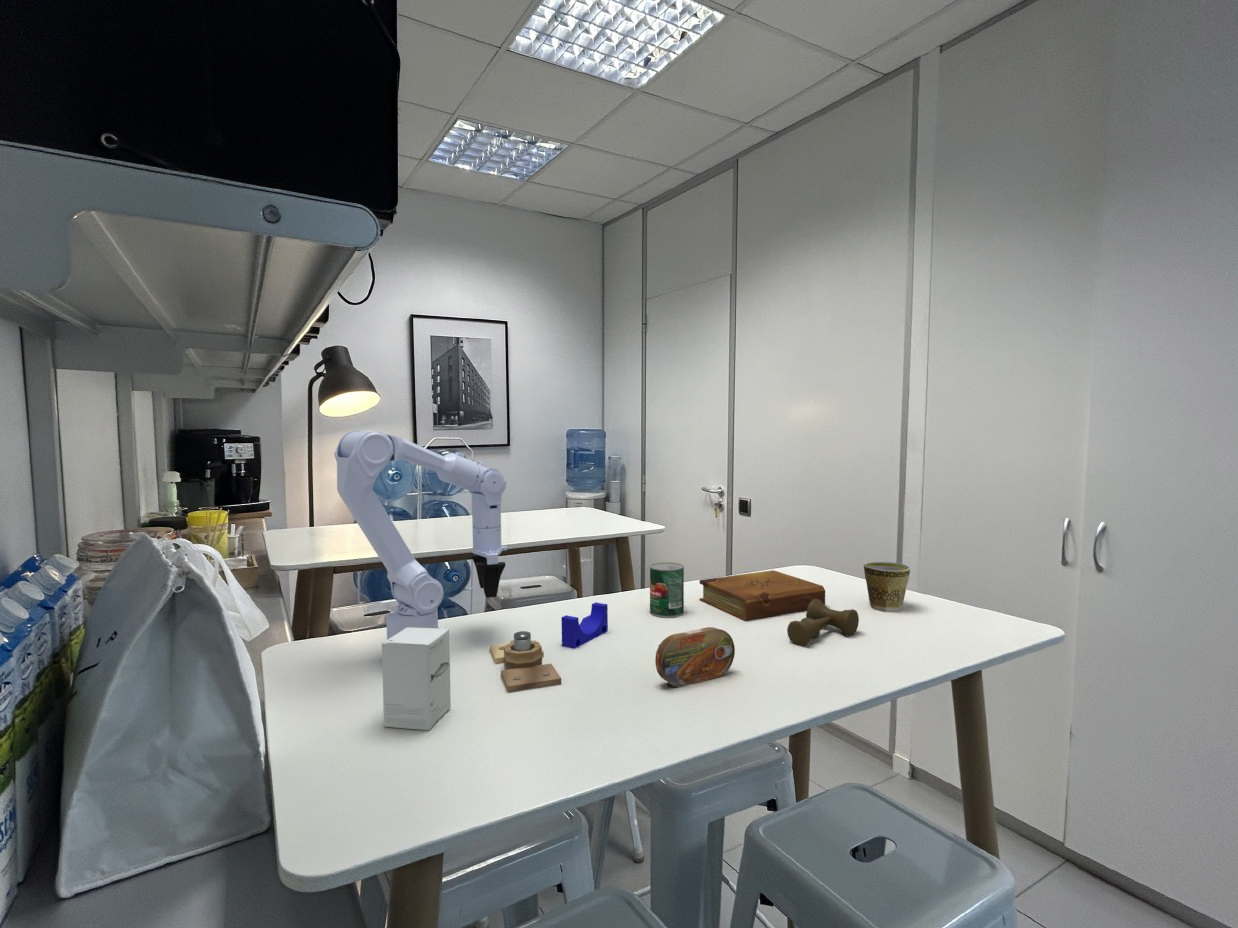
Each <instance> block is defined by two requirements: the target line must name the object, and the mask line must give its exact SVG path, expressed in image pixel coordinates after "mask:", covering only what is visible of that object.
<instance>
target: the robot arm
mask: <svg viewBox="0 0 1238 928" xmlns="http://www.w3.org/2000/svg"><path fill="white" fill-rule="evenodd" d="M333 455H334V458H335V461H336V489H337V490H336V491H337V493H338V494H339V496H340V498H341V500H342V501H343V503H344V504H345V507H346V508H347V509H348V510H349V512H350V514H351V515H352V517H353V518H354V521H355V523H357V525H358V527H359V528H360V529H361V532H362V533H363V534H364V536H365V537H366V539H367V541H368V542H369V544H370V545H371V548H373V550H374V551H375V553H376V555H377V556H378V558H379V559H380V561H381V563H382V564H383V566H384V567H385V569H386V570H387V575H386V578H387V579H388V581H389V583H390V588H391V590H390V591H391V595H392V597H393V598H394V600H395V601H397V608H396V609H397V610H396V611H394V612H393V611H392V612H387V613H386V640H388V639H389V638H391V637H393V636H394V635H396V634H397V633H399V632H400V631H402V630H403V629H405V628H407V627H410V628H437V629H439V616H438V615H439V614H438V613H439V612H438V611H439V610H438V607H439V606H440V604H441V603H442V602H443V599H444V587H443V585H442V584H441V582H440V581H438V580H437V579H436V578H433V577H432V576H431V575H430V574H429V572H428V570H427V569H426V568H424V567H423V565H421V564H420V563H419V561H417V559H415V556H414V555H413V554H412V552H411V550H410V548H409V546H408V545H407V544H406V541H405V540H404V539H403V537H402V535H401V534H400V532H399V530H398V528H397V527H396V525H395V524H394V522H393V520H392V519H391V517H390V516H389V514H388V512H387V511H386V509H385V508H384V506H383V504H382V502H381V501H380V499H379V497H378V496H377V494H376V493H375V490H374V486H375V483H376V480H377V478H378V476H379V474H380V473H381V472H382V471H383V470H384V468H385V467H386V466H387V464H388V463H389V462H397V461H404V462H406V463H410V464H412V465H413V464H414V465H417V466H419V467H422V468H425V469H428V470H432V471H434V472H435V473H436V475H437V478H438V479H439V480H440V481H442V482H444V483H448V484H450V485H451V486H456V487H458V488H461V489H464V490H466V491H467V492H469V494H471V516H472V517H471V519H472V524H471V525H472V548H471V553H472V554H470V558H471V559H472V561H473V563H474V567H475V570H476V574H477V579H478V584H479V586H480V589H483V593H484V597H485V598H486V599H489V598H496V597H497V595H498V592H499V586H500V581H501V576H502V573H503V571H504V570H505V567H506V565H507V564H506V562H505V561H499V555H501V553H502V552H505V551H508V546H507V545H502V496H503V493H504V492H505V490H506V487H507V481H506V480H505V478H504V476H503V473H502V472H501V471H500V470H498V469H497V468H493V467H491V468H490V467H485V466H484V465H485V464H484V462H482V461H473V460H470V459H468V458H466V457H465V454H464V453H462V452H460V451H459V452H458V451H456V452H455V453H454V452H453V453H452V452H449V453H447V454H444V455H441V454H439V453H436V452H434V451H433V450H429V449H428V448H425V447H423V446H420V445H419V444H417V443H414V442H412V441H409V440H407V439H405V438H402V437H399V436H397V435H394V434H388V433H387V434H386V433H384V432H382V431H380V430H369V431H368V430H367V431H364V430H363V431H361V430H351V431H348V432H346V433H345V434H343V436H341V438H340V440H339V441H338V444H337V446H336V449H335V451H334V454H333Z"/></svg>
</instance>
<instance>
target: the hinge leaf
mask: <svg viewBox="0 0 1238 928" xmlns="http://www.w3.org/2000/svg"><path fill="white" fill-rule="evenodd" d="M489 652H490V654H491V657H492V659H493V661H494V664H498V665H499V664H504V658H505V660H506V662H511V663H517V664H522V663H529V662H535V661H536V660H538V659H539V658H541V657H542V658H545V657H544V655H545V654H544V650H543V647H542V645H541V643H540V642H538V641H537V639H533V640H532V639H531V650H529V651H521V652H519V651H514V639H513V640H510V642H509V643H502V644H494V645H492V644H491V645H489Z"/></svg>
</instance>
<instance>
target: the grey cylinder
mask: <svg viewBox="0 0 1238 928" xmlns="http://www.w3.org/2000/svg"><path fill="white" fill-rule="evenodd" d="M531 634H532V633H531V632H530V631H527V630H526V631H522V630H521V631H517V632H515V633H513V640H514V651H519V652H521V651H529V650H531V641H532V636H531Z"/></svg>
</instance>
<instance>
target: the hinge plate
mask: <svg viewBox="0 0 1238 928" xmlns="http://www.w3.org/2000/svg"><path fill="white" fill-rule="evenodd" d="M503 666H504V669H503V670H500V677H501V680H502V682H503V684H504V687H505V689H506V692H507V693H512V692H519V691H520V692H521V691H525V690H531V689H539V688H544V687H552V686H557V685H559V686H560V685H562V678H561V676H560V674H559V673H558V670H556V669H555V667H554V665H553V664H552V663H544V664H543V657H541V658H539V659H538V660H536V661H535V662H529V663H522V664H517V663H511V662H506V660H505V658H504V663H503Z"/></svg>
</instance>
